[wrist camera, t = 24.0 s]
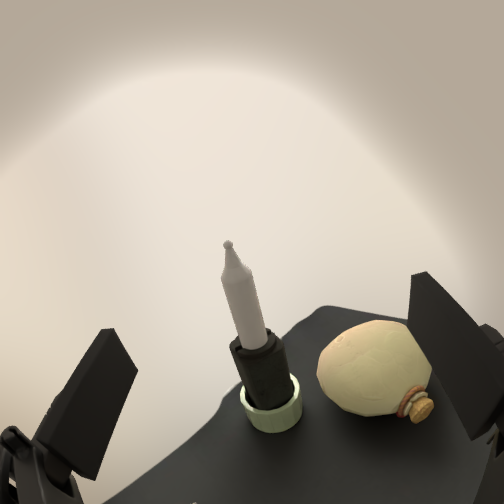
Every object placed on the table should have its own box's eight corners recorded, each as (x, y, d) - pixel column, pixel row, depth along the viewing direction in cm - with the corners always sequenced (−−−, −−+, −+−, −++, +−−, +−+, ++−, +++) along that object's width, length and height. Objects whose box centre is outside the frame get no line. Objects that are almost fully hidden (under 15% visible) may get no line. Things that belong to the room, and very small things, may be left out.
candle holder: (295, 385, 38) (291, 363, 36) (308, 424, 31) (305, 404, 29) (246, 397, 38) (237, 376, 36) (252, 438, 31) (243, 419, 29)
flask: (384, 337, 42) (456, 402, 26) (301, 380, 39) (365, 471, 23) (388, 292, 38) (478, 358, 22) (295, 337, 35) (376, 442, 19)
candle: (250, 406, 36) (192, 244, 26) (280, 389, 38) (240, 226, 28) (268, 429, 31) (210, 258, 22) (300, 410, 33) (265, 236, 24)
